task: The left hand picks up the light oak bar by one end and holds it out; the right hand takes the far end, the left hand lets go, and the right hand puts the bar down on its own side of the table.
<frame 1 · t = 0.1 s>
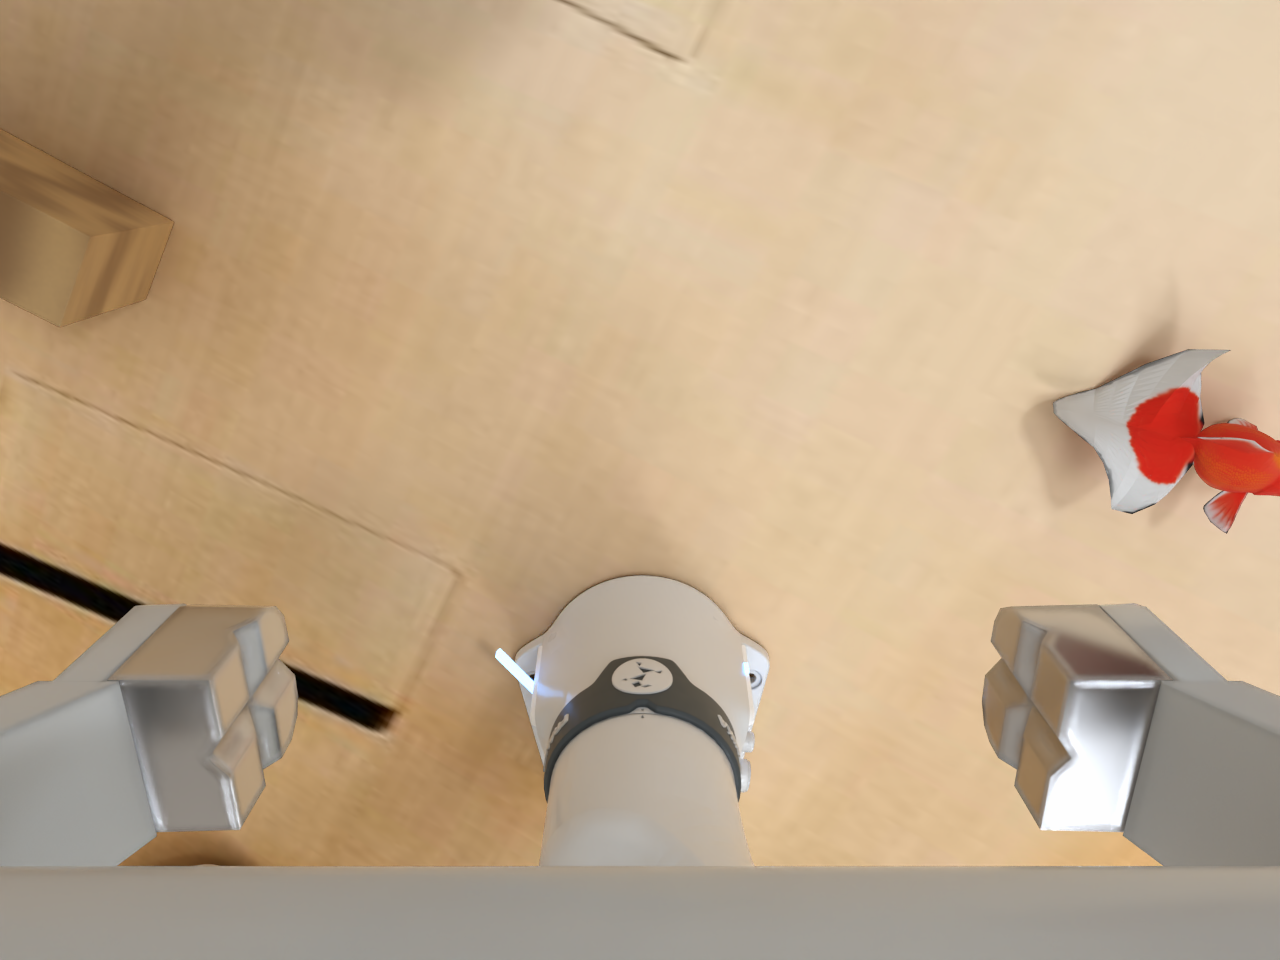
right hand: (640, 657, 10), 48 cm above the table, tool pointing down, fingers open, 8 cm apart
fish: (1146, 427, 59), on the table
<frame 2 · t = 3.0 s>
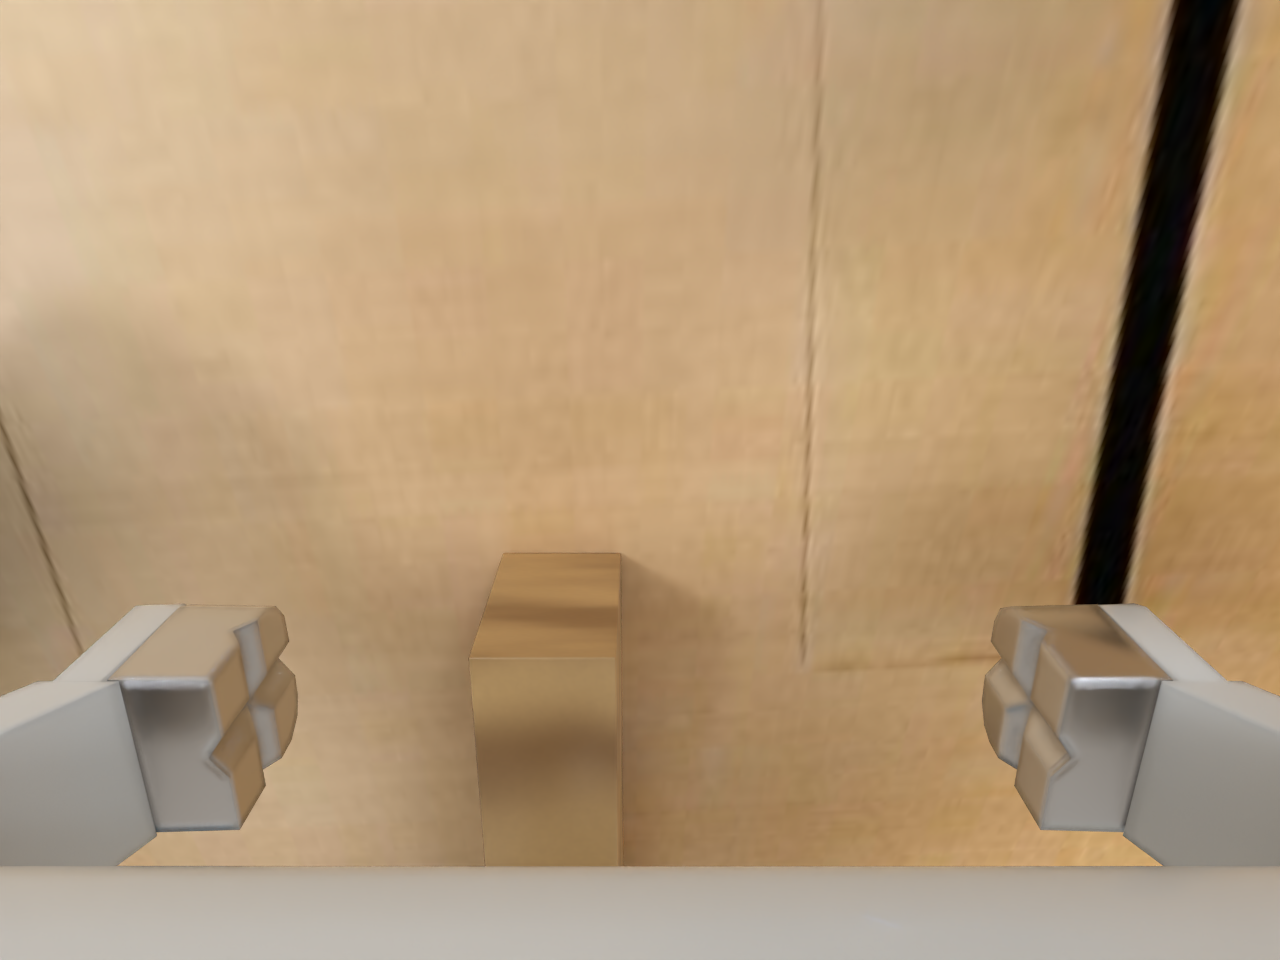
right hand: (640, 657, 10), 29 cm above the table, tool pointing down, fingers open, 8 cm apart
bar: (569, 780, 46), on the table, touching left hand
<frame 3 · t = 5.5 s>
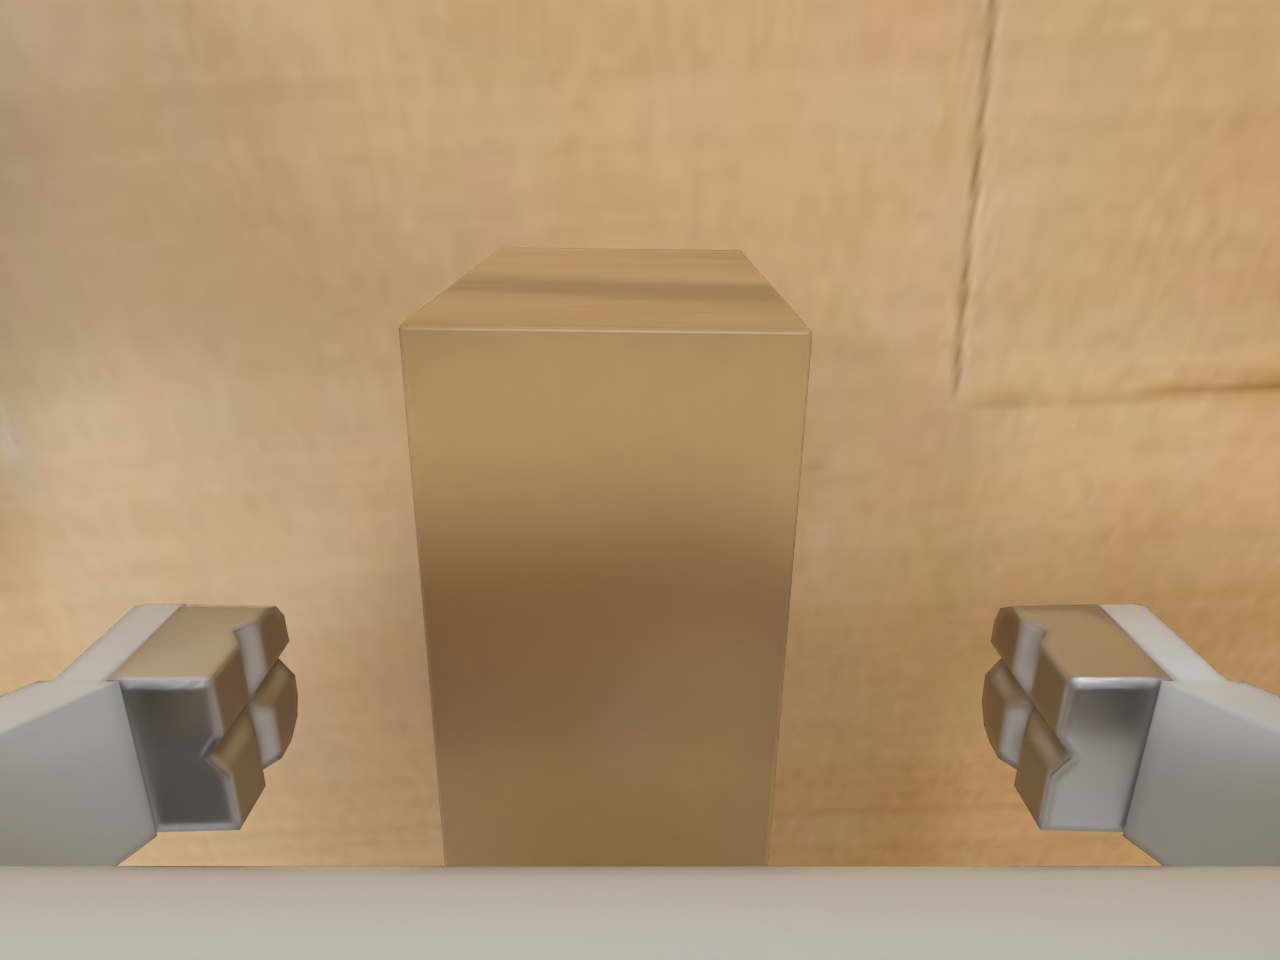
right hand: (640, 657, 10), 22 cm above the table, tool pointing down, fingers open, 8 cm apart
bar: (618, 728, 25), point 10 cm above the table, touching left hand
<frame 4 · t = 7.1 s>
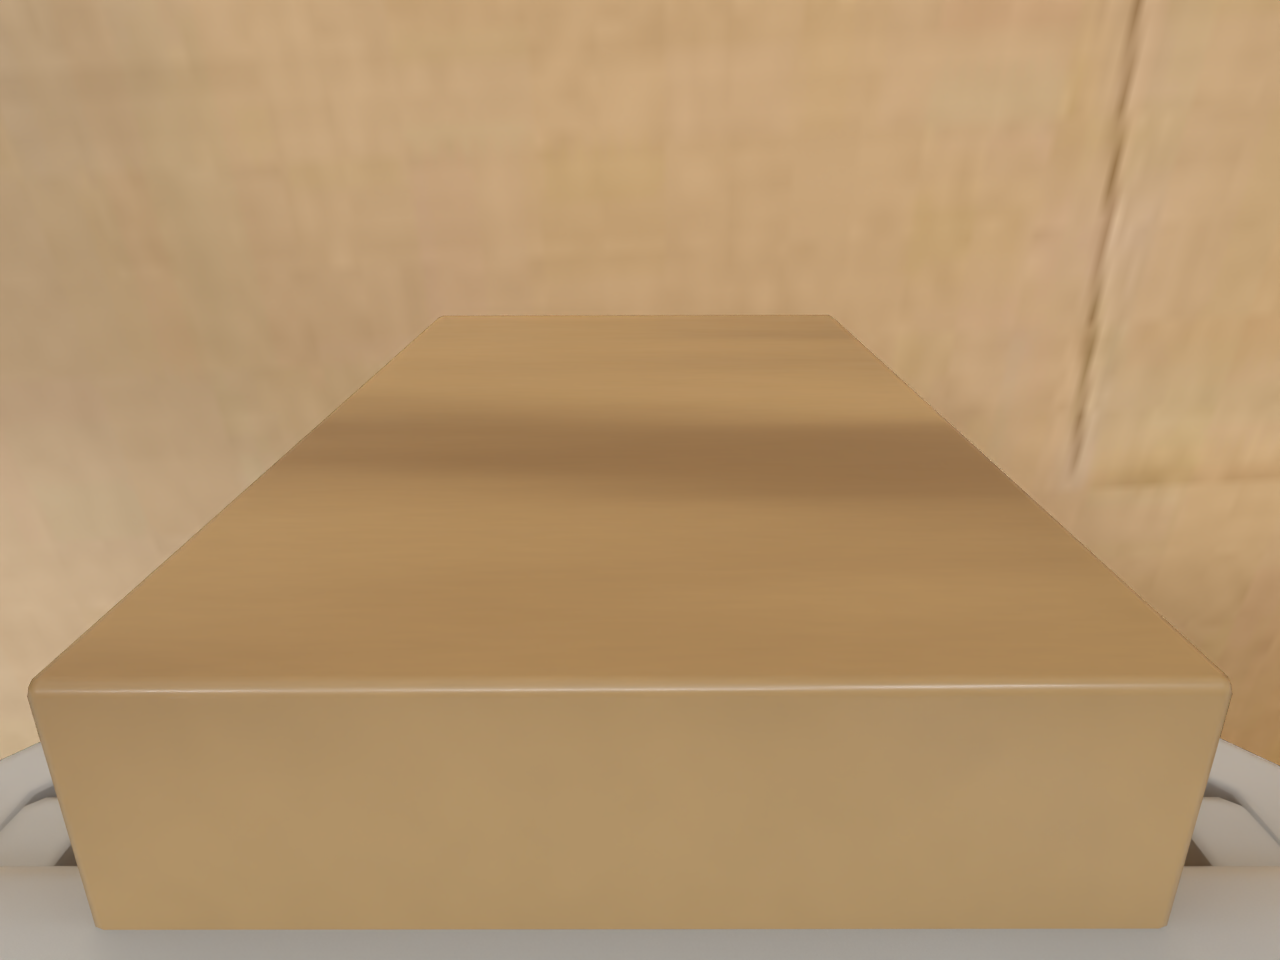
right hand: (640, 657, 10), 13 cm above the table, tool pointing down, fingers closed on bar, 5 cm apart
when the left hand's fingers open (10 cm above the table, at t = 8.1 s): bar stays where it is, held by the right hand.
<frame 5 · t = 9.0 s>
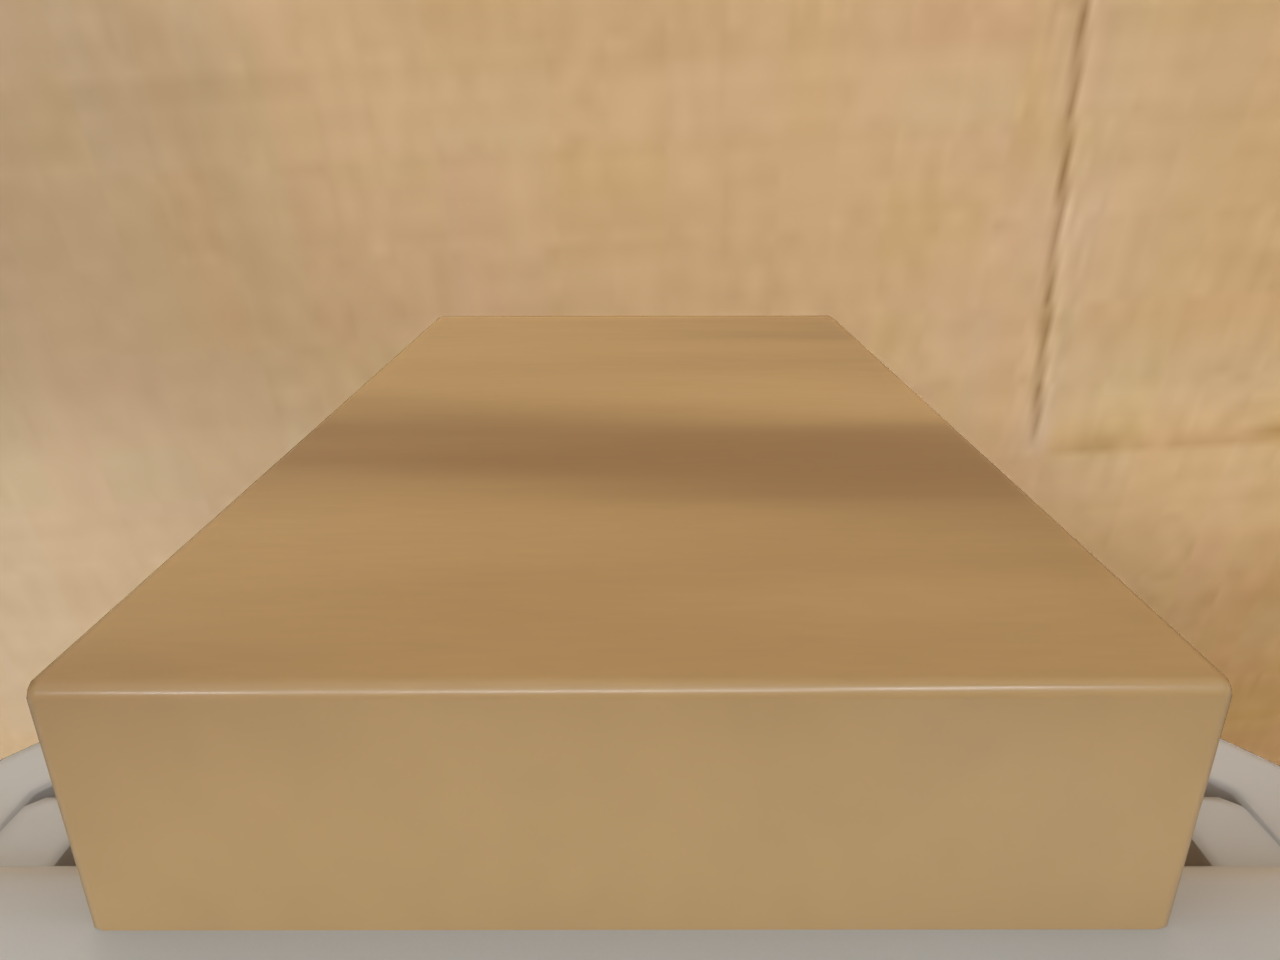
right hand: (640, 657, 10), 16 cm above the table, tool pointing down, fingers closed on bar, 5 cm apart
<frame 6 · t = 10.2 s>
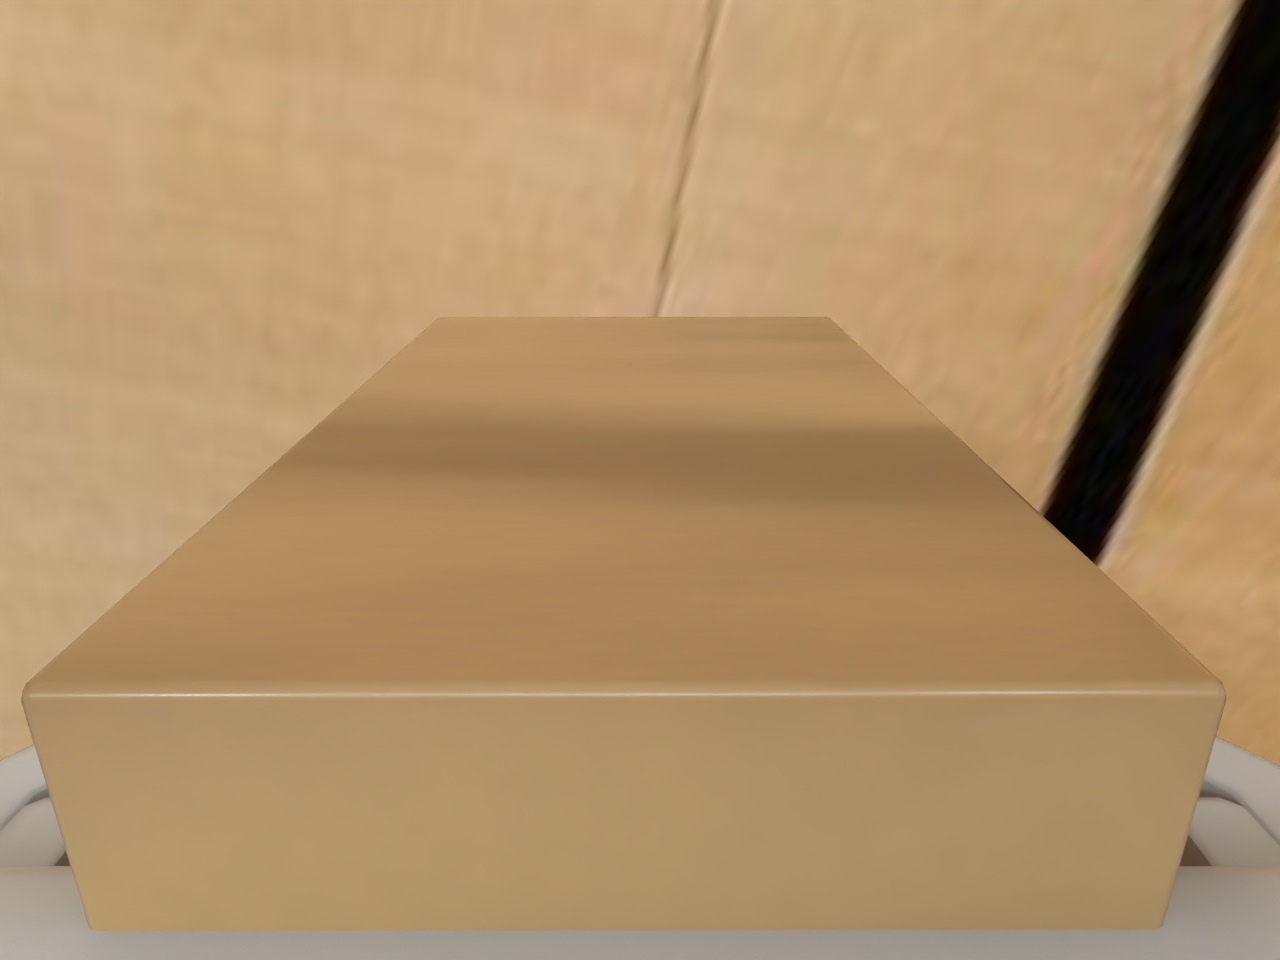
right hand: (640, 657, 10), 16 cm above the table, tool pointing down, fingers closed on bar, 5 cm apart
when the right hand's fingers open (5 cm above the table, at t = 13.5 s): bar drops 2 cm, on the table.
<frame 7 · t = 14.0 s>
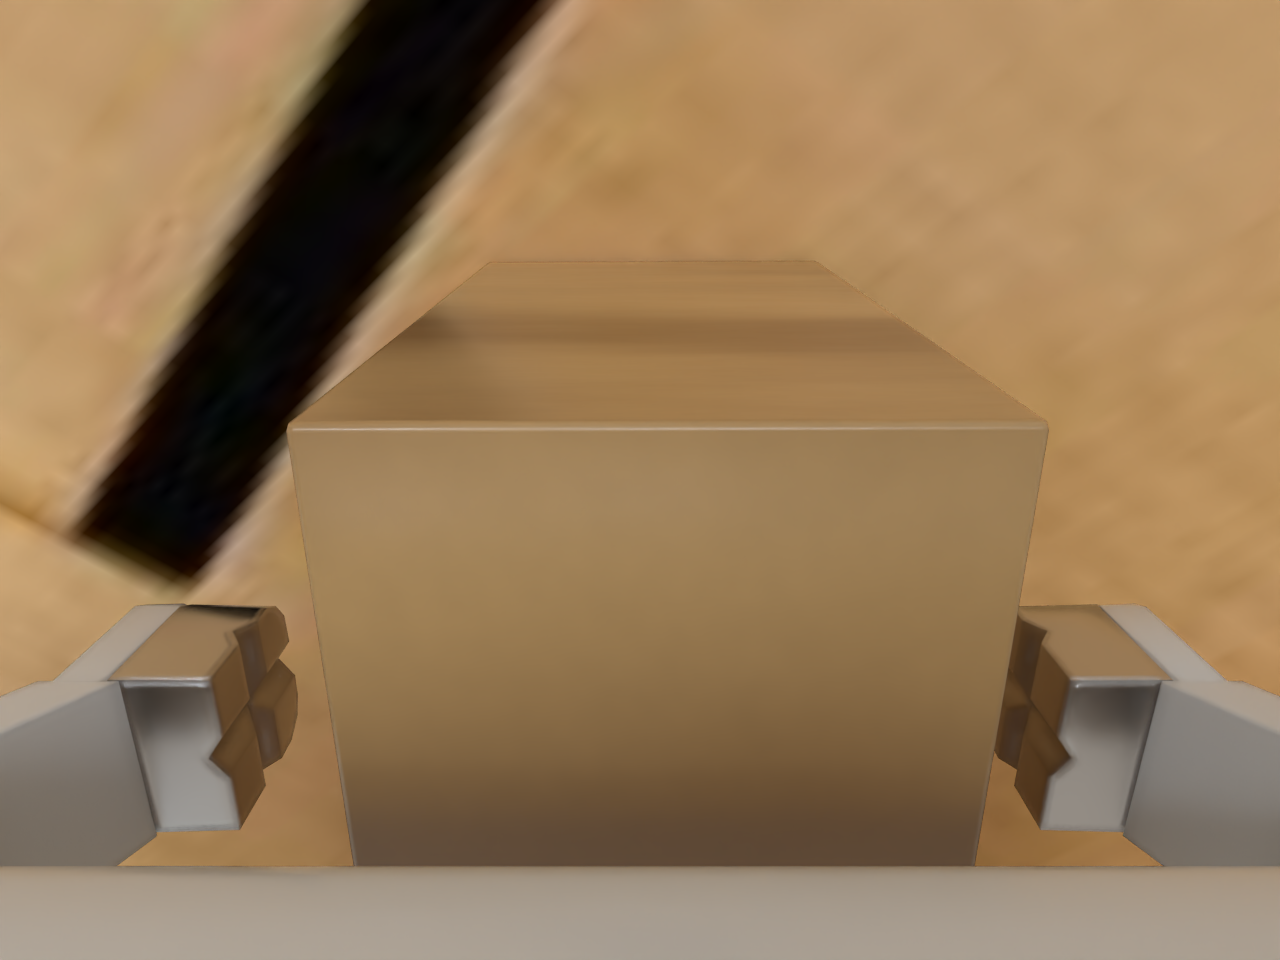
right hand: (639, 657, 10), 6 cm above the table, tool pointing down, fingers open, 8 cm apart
bar: (651, 871, 19), on the table
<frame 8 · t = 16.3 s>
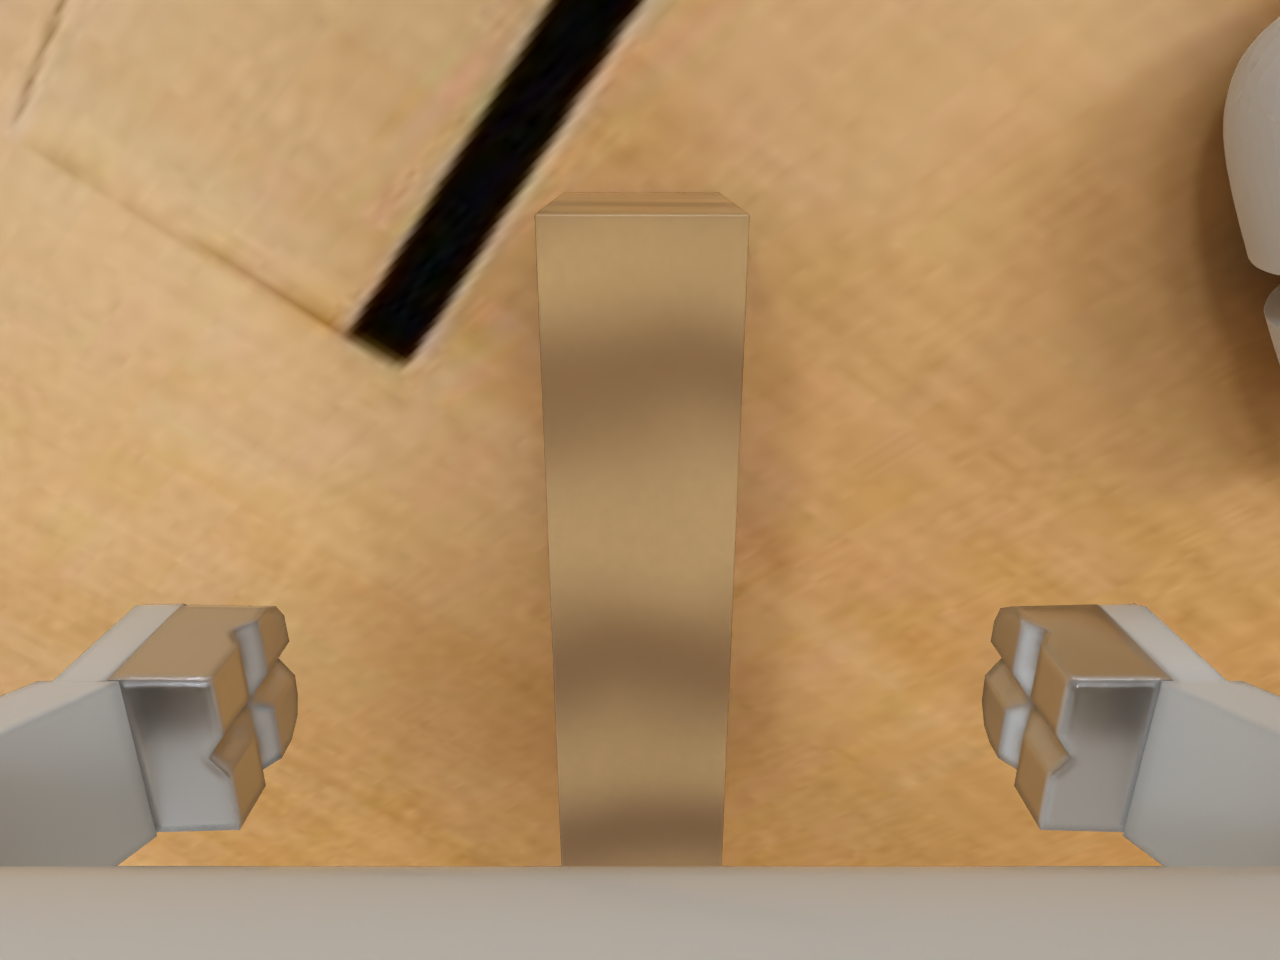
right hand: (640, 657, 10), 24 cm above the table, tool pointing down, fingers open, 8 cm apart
bar: (641, 533, 36), on the table
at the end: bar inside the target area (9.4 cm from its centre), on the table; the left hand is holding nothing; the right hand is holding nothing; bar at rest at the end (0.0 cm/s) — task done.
